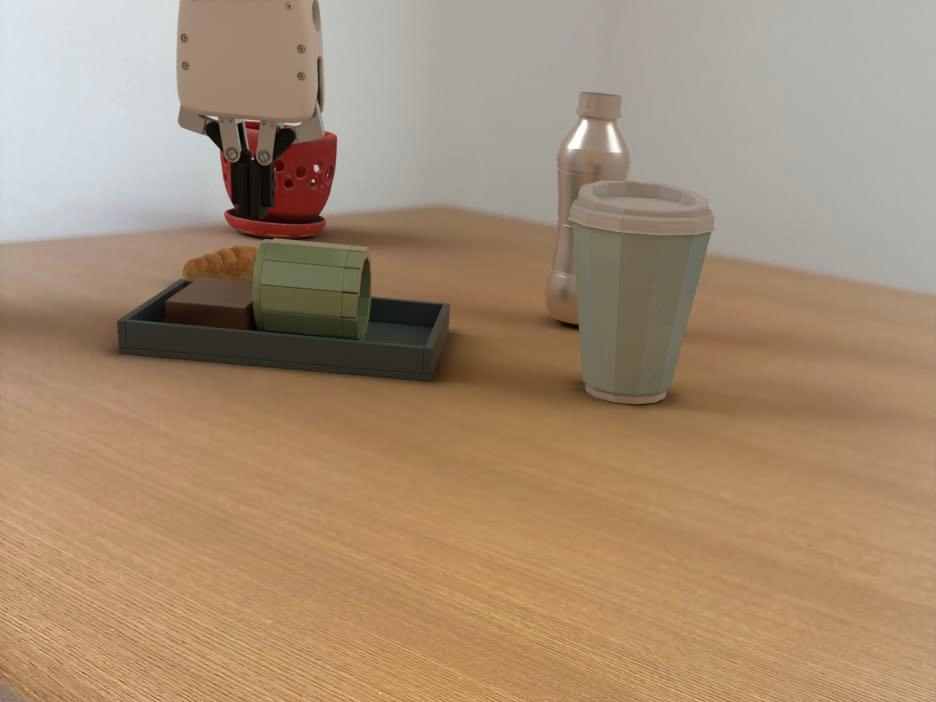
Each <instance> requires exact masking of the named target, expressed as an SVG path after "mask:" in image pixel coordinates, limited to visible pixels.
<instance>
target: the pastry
mask: <svg viewBox="0 0 936 702" xmlns="http://www.w3.org/2000/svg"><path fill="white" fill-rule="evenodd" d="M258 249H259V246H253V245H244V244H236V245H233V246H230V247H229V248H228V247H224V248H223V247H222V248H220V249H219V250H216V251H213V252H207V253H205V254H203V255H202V256H197V257H195V258H192V259H190V260H188V261H186V263H184V265H183V269H182V275H181V276H182V278H181V279H185V280H197V279H198V278H211V279H222V280H233V281H244V282H253V275H254V267H255V261H256V256H257V252H258Z"/></svg>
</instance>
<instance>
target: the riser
mask: <svg viewBox="0 0 936 702" xmlns="http://www.w3.org/2000/svg"><path fill="white" fill-rule="evenodd" d="M165 305H166V323H171V324H182V325H193V326H204V327H215V328H226V329H237V330H249V331H258V329H257V326H256V323H255V318H254V311H253V282H244V281H233V280H222V279H211V278H198V279H197V280H196V281H194V282H193V283H191V284H190V285H188V286H187V287H185V288H184V289H182V290H181V291H180V292H178V293H177V294H175V295H174V296H172V297H171V298H169V299H168V300H167V301H166V302H165Z"/></svg>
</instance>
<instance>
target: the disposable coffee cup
mask: <svg viewBox="0 0 936 702" xmlns="http://www.w3.org/2000/svg"><path fill="white" fill-rule="evenodd" d="M709 207H710V205H709V200H708V198H707V197H705V196H702V195H701V194H698V193H696V192H695V191H692V190H690V189H687V188H682V187H678V186H674V185H671V184H665V183H662V182H649V181H636V180H627V181H597V182H594V183H590V184H586V185H583V186H581V188H580V191H579V194H578V199H575V200H574V201H573V203H572V205H571V209H570V216H569V218H568V220H571V221H572V225H573V240H574V256H575V271H576V286H577V302H578V317H579V326H578V330H579V331H578V332H579V344H580V346H579V347H580V362H581V374H582V377H581V378H582V382H583V383H584V384H585V392H586V393H587V394H590V395H591V396H592V397H594V398H596V399H599V400H603V401H607V402H610V403H615V404H627V405H644V404H655V403H657V402H659V401H661V400H662V401H663V400H664V399H666V396H667V393H668V391H669V390H671V389H672V384H673V380H674V376H675V372H676V369H677V366H678V365H677V364H678V361H679V358H680V354H681V350H682V346H683V342H684V339H685V335H686V330H687V327H688V322H689V319H690V316H691V312H692V308H693V304H694V300H695V296H696V293H697V290H698V289H697V288H698V285H699V281H700V277H701V274H702V269H703V265H704V262H705V259H706V254H707V250H708V246H709V244H710V243H709V242H710V239H711V235H712V232H715V230H716V229H715V216H714V212H713V210H712V209H711V208H709Z"/></svg>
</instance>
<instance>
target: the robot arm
mask: <svg viewBox="0 0 936 702" xmlns="http://www.w3.org/2000/svg"><path fill="white" fill-rule="evenodd" d="M176 27H177V30H176V57H175V59H176V64H175V67H176V69H175V70H176V73H175V74H176V90H177V97H178V101H179V103H180V106H179V112H178V116H177V123H178V125H179V126H180V128H182V129H183V130H184V129H185V130H187V131H190V132H193V133H196V134H198V135H203V136H206V137H208V138H209V139H210V140H211V142H213V144H214V145H215V146H216V147H217V148H218V149H219V151H220V150H221V151H222V152H223V153H224V156H225V158H226V160H228V161H229V162H230V169H231V200H232V202H231V205H233V204H236V205H238V216H239V218H248V217H253V219H259V220H260V219H262V218H264V217H265V216H267V215H268V212H269V207H270V208H273V207H274V205H275V161H277V160H278V159H279V158H280V156H281V155H283V154H284V153H285V152H286V151H287V150H288V149H289V148H290V147H291V146H292V145H293V144H297V143H303V142H309V141H315V140H319V139H321V138H323V137H324V135H325V131H326V130H325V129H326V128H325V125H324V121H323V116H322V113H323V111H324V110H325V109H324V108H325V100H326V87H325V85H326V83H325V63H324V61H325V60H324V44H323V28H322V19H321V10H320V3H319V0H179V3H178V15H177V26H176ZM212 117H215V118H212ZM216 118H217V119H216ZM245 121H258V122H260V127H259V135H258V143H257V151H256V154H255V155H254V158H252V155H251V152H250V151H249V146H248V140H247V134H246V127H245ZM298 123H300V124H298ZM284 124H296V125H293V126H291V127H286V128H284ZM297 124H298V125H297ZM231 200H230V201H231Z"/></svg>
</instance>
